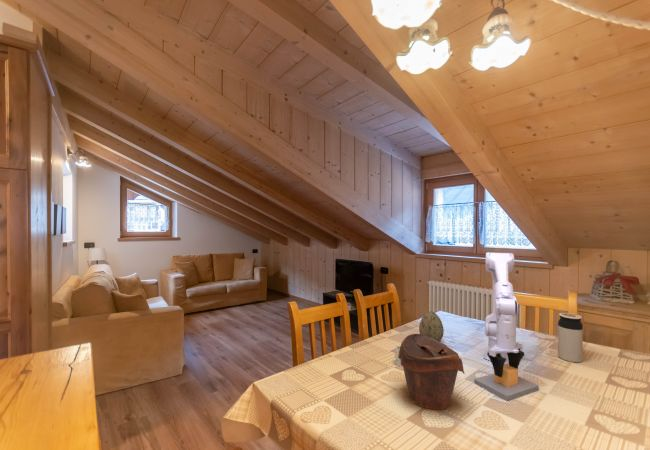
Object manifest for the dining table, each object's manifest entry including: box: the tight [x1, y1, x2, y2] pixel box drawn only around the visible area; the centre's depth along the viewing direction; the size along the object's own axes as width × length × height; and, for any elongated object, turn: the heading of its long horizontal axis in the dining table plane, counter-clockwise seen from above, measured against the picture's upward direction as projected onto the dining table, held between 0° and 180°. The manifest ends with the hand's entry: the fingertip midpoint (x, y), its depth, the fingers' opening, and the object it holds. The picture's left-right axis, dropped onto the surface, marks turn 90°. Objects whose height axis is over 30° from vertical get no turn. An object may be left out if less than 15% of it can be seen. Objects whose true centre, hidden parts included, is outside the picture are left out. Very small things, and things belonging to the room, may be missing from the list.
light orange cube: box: [493, 363, 519, 387], centre depth 106 cm, size 5×5×5 cm
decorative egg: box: [418, 310, 445, 342], centre depth 144 cm, size 11×11×15 cm
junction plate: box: [473, 373, 540, 402], centre depth 106 cm, size 16×12×5 cm
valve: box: [394, 345, 403, 367], centre depth 123 cm, size 7×7×12 cm
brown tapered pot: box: [398, 333, 465, 411], centre depth 98 cm, size 18×20×18 cm
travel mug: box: [557, 312, 584, 363], centre depth 129 cm, size 8×8×18 cm
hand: (505, 373), depth 106 cm, fingers open, 7 cm apart
